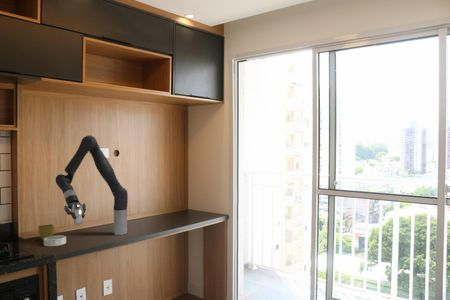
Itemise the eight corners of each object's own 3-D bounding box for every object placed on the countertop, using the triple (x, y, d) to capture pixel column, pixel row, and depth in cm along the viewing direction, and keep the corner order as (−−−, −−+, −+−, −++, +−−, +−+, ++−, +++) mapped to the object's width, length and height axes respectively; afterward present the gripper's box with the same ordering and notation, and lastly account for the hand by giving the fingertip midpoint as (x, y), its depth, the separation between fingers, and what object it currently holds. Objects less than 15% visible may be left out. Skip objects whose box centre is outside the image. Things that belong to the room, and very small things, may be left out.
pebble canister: (74, 223, 241) (74, 208, 241) (83, 223, 242) (82, 207, 242) (73, 225, 236) (72, 209, 236) (81, 224, 237) (81, 209, 237)
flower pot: (40, 241, 242) (40, 227, 242) (37, 239, 249) (37, 225, 249) (54, 239, 247) (54, 226, 247) (51, 237, 254) (51, 224, 254)
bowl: (47, 242, 239) (47, 235, 239) (68, 240, 242) (68, 234, 242) (41, 246, 226) (41, 240, 226) (63, 245, 229) (63, 239, 229)
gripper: (61, 195, 239) (70, 215, 231) (83, 193, 249) (91, 212, 241) (58, 203, 243) (66, 223, 234) (79, 200, 253) (88, 220, 245)
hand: (79, 217), depth 238 cm, fingers closed on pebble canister, 5 cm apart
